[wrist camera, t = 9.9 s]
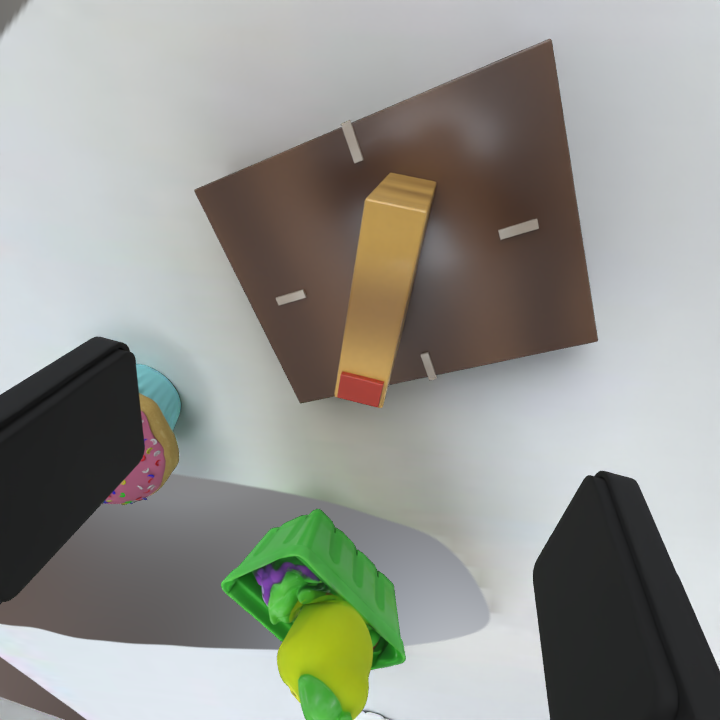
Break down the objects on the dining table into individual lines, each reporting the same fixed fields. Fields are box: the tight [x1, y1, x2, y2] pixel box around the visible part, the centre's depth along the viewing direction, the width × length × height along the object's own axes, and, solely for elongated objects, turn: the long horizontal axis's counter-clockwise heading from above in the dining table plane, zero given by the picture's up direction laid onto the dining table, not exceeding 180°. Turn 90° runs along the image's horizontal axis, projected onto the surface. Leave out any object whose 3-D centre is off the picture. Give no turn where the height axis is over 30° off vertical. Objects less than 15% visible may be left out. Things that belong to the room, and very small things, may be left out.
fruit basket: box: [221, 509, 406, 720], centre depth 29 cm, size 11×9×11 cm
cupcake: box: [102, 364, 181, 505], centre depth 24 cm, size 9×8×12 cm
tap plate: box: [194, 39, 598, 403], centre depth 20 cm, size 14×11×3 cm
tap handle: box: [334, 173, 436, 408], centre depth 17 cm, size 7×2×5 cm, turn 171°
